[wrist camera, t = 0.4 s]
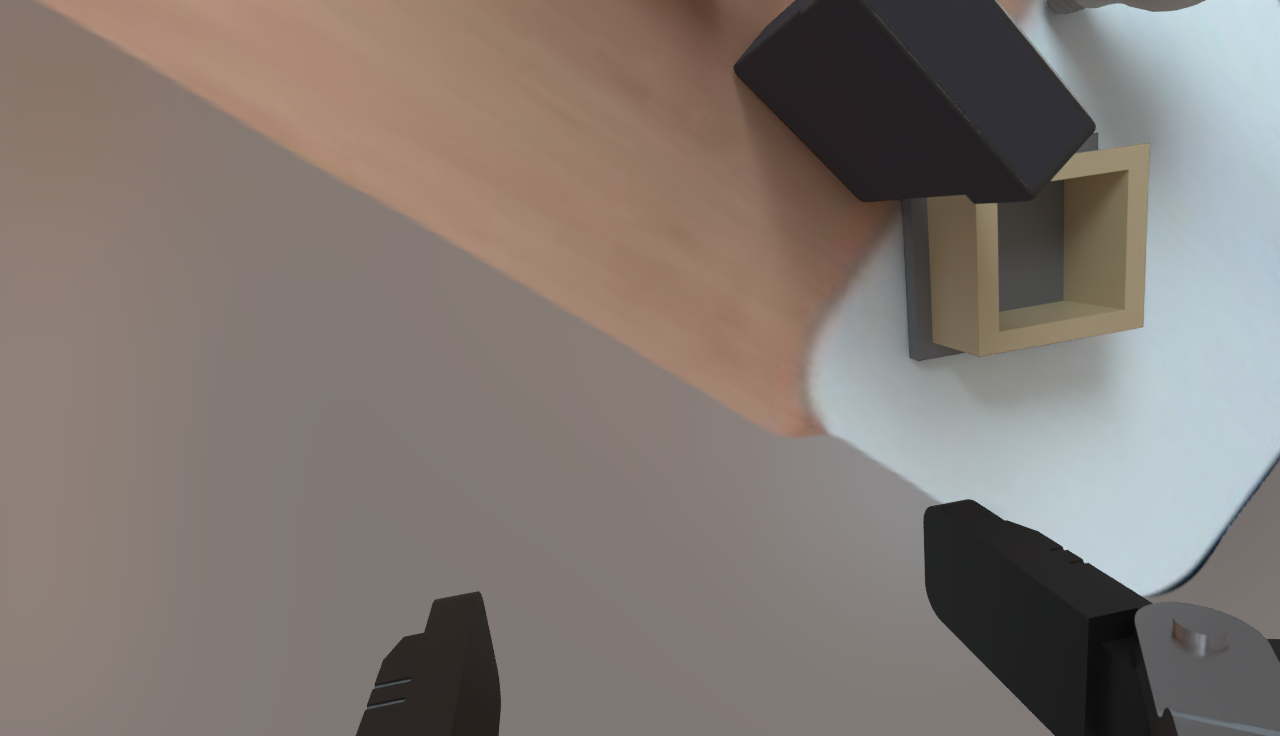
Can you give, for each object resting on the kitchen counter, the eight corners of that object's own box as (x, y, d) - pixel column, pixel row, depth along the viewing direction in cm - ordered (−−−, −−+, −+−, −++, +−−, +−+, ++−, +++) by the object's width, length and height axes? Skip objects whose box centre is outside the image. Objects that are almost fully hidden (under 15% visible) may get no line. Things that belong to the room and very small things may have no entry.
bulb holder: (900, 161, 39) (956, 150, 34) (1084, 134, 40) (1167, 120, 35) (909, 357, 42) (963, 377, 36) (1082, 327, 43) (1158, 341, 38)
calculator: (904, 155, 39) (1117, 113, 24) (854, 211, 39) (1037, 203, 25) (774, 15, 36) (927, -125, 22) (722, 77, 37) (839, -21, 22)
